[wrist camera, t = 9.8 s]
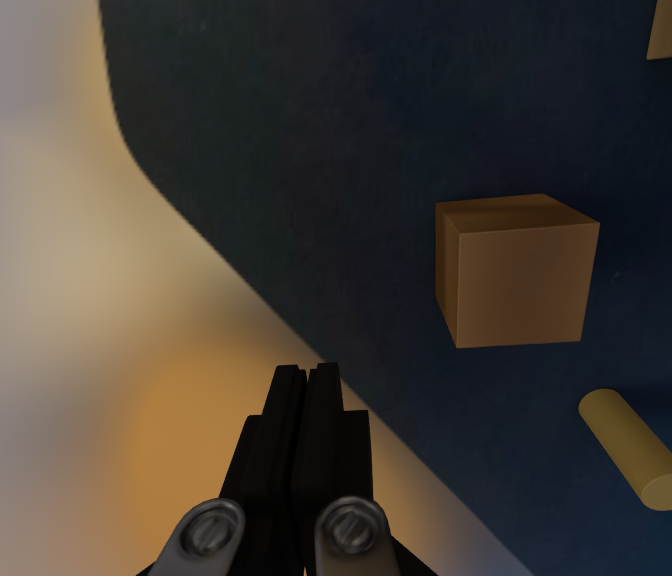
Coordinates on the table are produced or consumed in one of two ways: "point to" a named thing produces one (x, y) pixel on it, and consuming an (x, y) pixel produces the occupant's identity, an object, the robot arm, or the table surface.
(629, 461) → the post
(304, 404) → the robot arm
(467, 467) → the table surface
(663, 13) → the maple block
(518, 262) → the oak block
